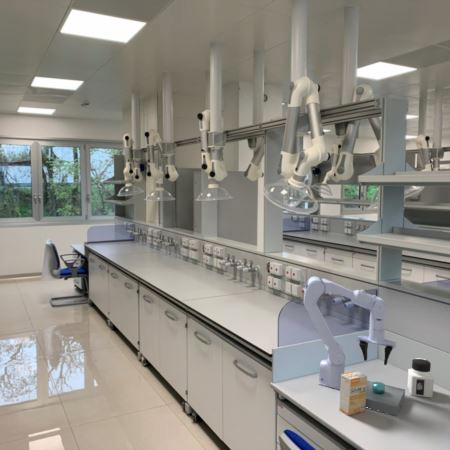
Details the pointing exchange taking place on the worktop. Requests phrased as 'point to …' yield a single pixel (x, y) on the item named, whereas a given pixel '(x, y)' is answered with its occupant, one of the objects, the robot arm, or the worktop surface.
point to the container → (420, 378)
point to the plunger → (378, 387)
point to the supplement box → (353, 392)
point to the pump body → (385, 399)
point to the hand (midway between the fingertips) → (375, 362)
